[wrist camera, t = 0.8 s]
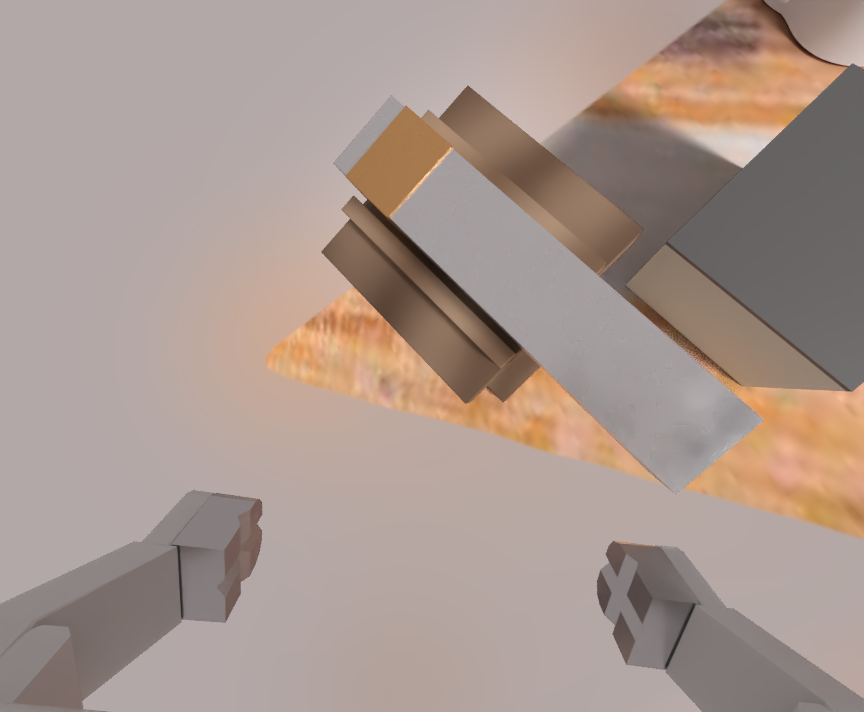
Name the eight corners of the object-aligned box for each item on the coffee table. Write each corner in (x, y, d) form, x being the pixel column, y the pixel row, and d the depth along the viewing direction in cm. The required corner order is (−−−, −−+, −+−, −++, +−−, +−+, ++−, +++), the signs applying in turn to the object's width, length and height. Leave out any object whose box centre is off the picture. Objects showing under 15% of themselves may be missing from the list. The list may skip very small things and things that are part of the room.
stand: (597, 312, 44) (686, 216, 18) (504, 401, 46) (461, 434, 20) (504, 229, 47) (464, 42, 21) (421, 316, 49) (287, 247, 23)
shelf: (879, 267, 38) (1079, 203, 24) (742, 386, 40) (852, 391, 26) (745, 169, 41) (852, 62, 27) (625, 285, 44) (667, 241, 30)
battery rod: (716, 409, 18) (766, 419, 14) (646, 471, 19) (675, 496, 15) (407, 134, 23) (379, 82, 19) (358, 190, 23) (320, 152, 19)
